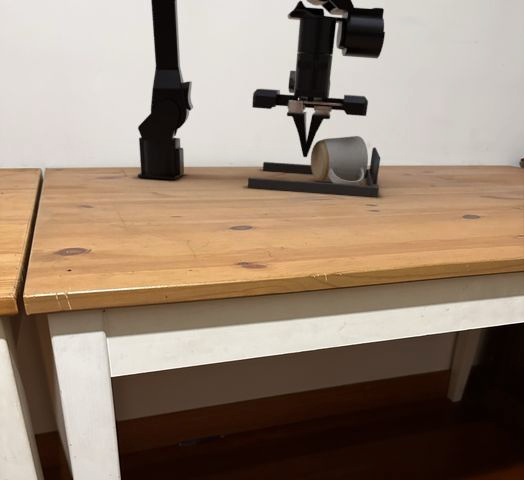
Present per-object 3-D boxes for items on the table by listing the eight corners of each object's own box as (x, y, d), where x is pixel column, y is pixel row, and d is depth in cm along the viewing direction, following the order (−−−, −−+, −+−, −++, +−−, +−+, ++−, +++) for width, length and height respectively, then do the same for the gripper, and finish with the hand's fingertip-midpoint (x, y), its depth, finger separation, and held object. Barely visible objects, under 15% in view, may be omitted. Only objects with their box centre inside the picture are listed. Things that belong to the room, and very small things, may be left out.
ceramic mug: (306, 178, 95) (310, 133, 91) (346, 177, 98) (352, 133, 94) (331, 191, 86) (336, 141, 83) (374, 190, 89) (382, 142, 85)
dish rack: (247, 187, 85) (248, 150, 83) (263, 169, 102) (264, 138, 99) (377, 197, 83) (382, 159, 80) (372, 177, 100) (376, 145, 97)
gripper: (371, 59, 90) (357, 155, 97) (263, 52, 91) (258, 147, 99) (374, 57, 80) (359, 164, 87) (254, 49, 82) (249, 154, 89)
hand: (305, 156), depth 91 cm, fingers closed
